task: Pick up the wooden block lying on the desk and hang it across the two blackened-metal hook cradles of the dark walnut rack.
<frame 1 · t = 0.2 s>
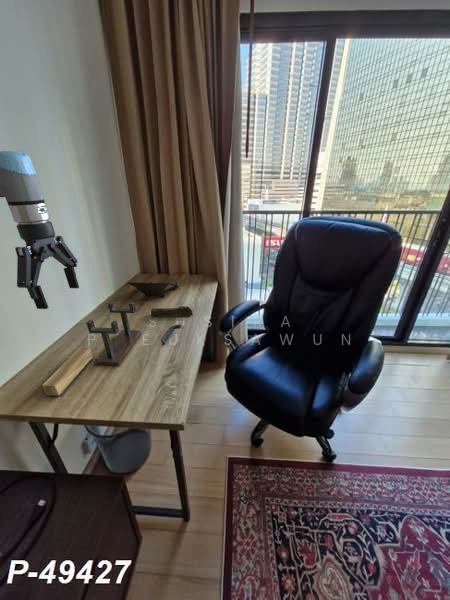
hand: (60, 297, 73), 28 cm above the table, tool pointing down, fingers open, 13 cm apart
hand tool: (172, 315, 119), on the table
tool rack: (121, 347, 97), on the table
wooden block: (72, 376, 83), on the table
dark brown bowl: (158, 293, 141), on the table
knife: (171, 334, 104), on the table
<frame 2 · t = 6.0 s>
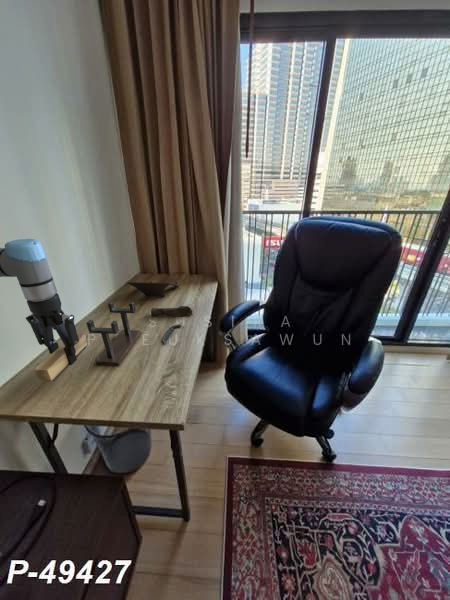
hand: (66, 361, 80), 6 cm above the table, tool pointing down, fingers closed on wooden block, 4 cm apart
wooden block: (66, 362, 80), point 6 cm above the table, touching gripper
everything else where it was.
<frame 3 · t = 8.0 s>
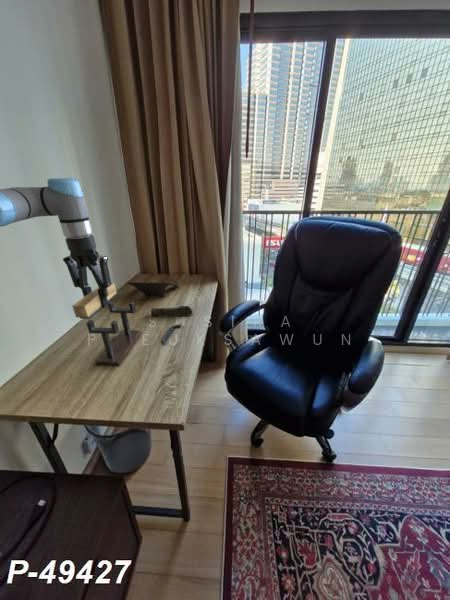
hand: (98, 305, 84), 20 cm above the table, tool pointing down, fingers closed on wooden block, 4 cm apart
wooden block: (99, 306, 85), point 20 cm above the table, touching gripper
everything else where it was.
when the fingers open (13 cm above the table, at t = 10.1 s): wooden block stays where it is, resting on tool rack.
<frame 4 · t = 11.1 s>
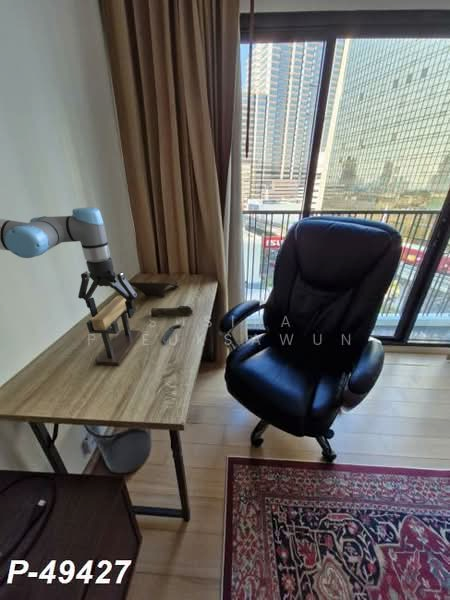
hand: (112, 315, 90), 14 cm above the table, tool pointing down, fingers open, 13 cm apart
wooden block: (113, 318, 91), point 13 cm above the table, touching tool rack
everything else where it was.
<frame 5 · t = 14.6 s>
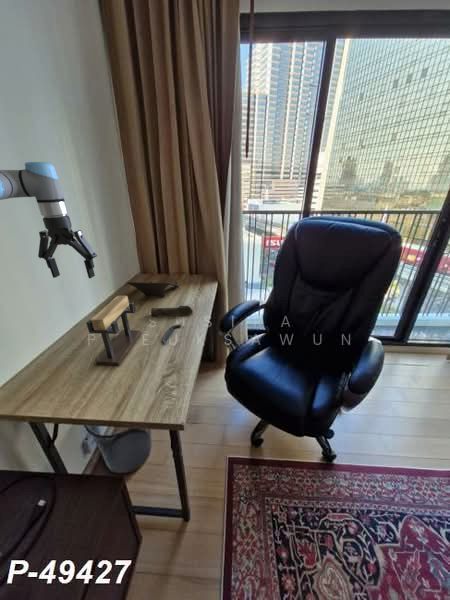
hand: (74, 276, 91), 27 cm above the table, tool pointing down, fingers open, 13 cm apart
nothing on the table moved.
at the end: wooden block 0.1 cm off-centre on the tool rack, point 13.0 cm above the tool rack's base; wooden block touching tool rack; the gripper is holding nothing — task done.
